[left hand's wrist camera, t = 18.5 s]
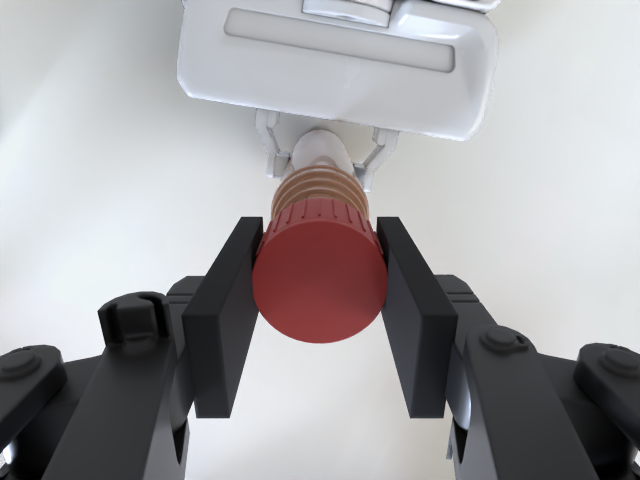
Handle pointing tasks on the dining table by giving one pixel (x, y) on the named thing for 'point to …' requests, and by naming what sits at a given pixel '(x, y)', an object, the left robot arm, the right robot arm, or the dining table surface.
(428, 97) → the right robot arm
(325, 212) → the cap
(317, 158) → the bottle
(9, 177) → the dining table surface
